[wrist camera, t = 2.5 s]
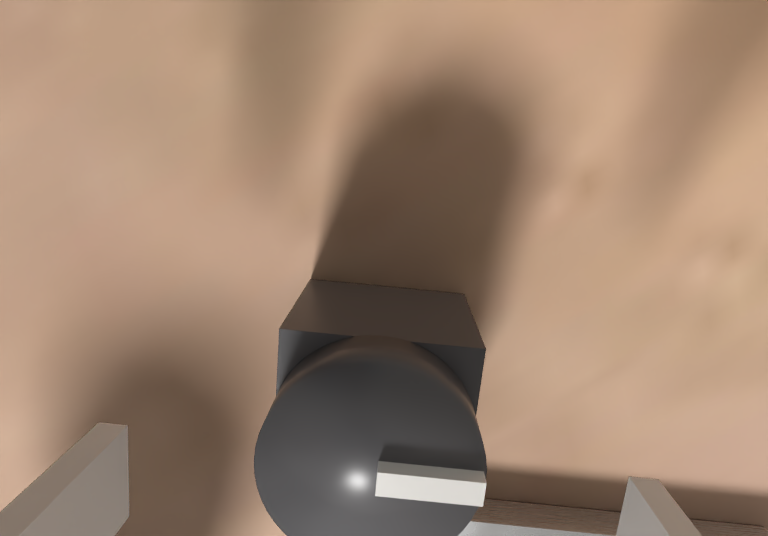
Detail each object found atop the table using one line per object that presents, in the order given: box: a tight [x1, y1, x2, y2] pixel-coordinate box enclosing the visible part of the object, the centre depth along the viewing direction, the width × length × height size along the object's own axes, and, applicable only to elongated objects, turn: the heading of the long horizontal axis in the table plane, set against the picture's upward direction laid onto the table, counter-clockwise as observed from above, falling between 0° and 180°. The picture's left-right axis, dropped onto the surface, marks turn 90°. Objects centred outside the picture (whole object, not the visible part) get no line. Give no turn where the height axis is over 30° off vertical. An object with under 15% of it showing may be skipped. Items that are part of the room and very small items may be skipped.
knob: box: [254, 279, 487, 536], centre depth 18 cm, size 6×6×8 cm
